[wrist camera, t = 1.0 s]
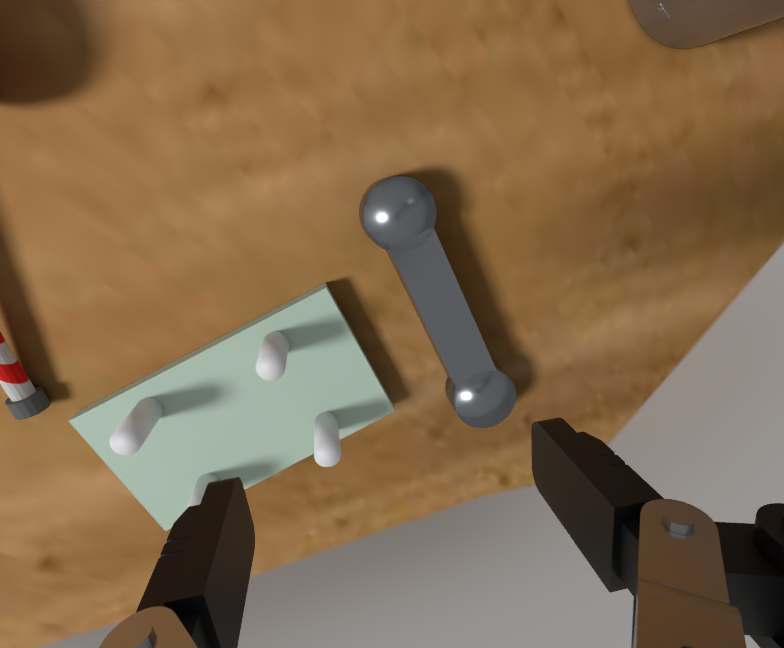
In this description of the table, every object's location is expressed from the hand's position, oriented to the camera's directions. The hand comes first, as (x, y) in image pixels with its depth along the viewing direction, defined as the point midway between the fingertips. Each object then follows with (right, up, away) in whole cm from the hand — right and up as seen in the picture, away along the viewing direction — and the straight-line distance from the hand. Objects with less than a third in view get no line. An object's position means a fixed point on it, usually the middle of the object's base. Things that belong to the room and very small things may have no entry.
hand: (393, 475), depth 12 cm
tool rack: (-10, -1, +19) cm, 22 cm away
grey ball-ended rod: (+3, +5, +19) cm, 20 cm away
